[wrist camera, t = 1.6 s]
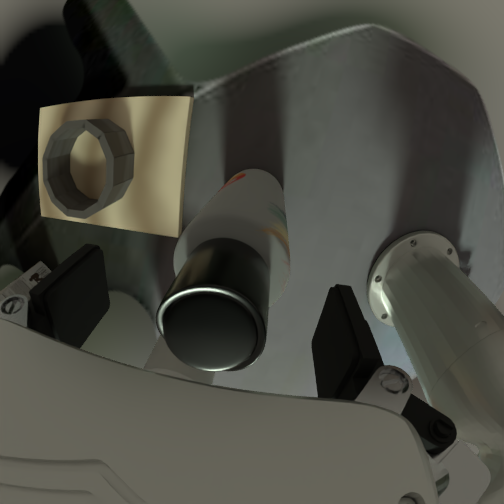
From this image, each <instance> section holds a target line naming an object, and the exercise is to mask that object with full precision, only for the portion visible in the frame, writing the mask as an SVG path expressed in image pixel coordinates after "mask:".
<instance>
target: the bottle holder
mask: <svg viewBox="0 0 504 504" xmlns="http://www.w3.org/2000/svg"><path fill="white" fill-rule="evenodd" d="M193 101H194V98H193V97H186V96H143V97H122V98H108V99H97V100H88V101H80V102H73V103H66V104H60V105H54V106H49V107H43V108H40V119H39V138H38V174H39V193H40V206H41V216H45V217H51V218H57V219H64V220H70V221H76V222H83V223H89V224H95V225H102V226H108V227H114V228H120V229H127V230H133V231H139V232H145V233H152V234H158V235H164V236H170V237H177V238H178V237H179V236H180V235H181V234H182V216H183V200H184V186H185V173H186V162H187V152H188V142H189V133H190V125H191V116H192V109H193Z"/></svg>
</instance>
